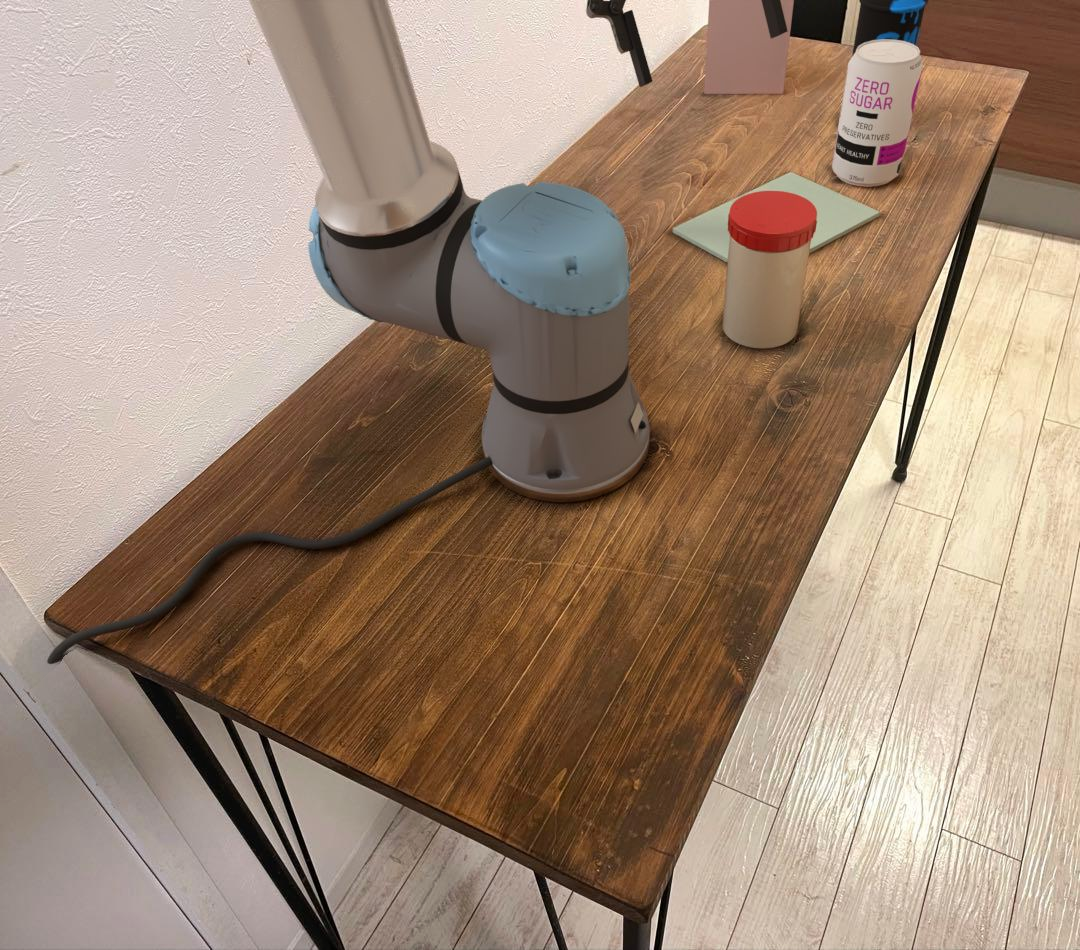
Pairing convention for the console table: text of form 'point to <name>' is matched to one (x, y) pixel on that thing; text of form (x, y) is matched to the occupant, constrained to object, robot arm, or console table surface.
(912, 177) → the console table surface
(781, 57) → the greeting card
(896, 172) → the white soda can
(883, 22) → the aerosol can
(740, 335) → the jar
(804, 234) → the lid
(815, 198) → the mat
